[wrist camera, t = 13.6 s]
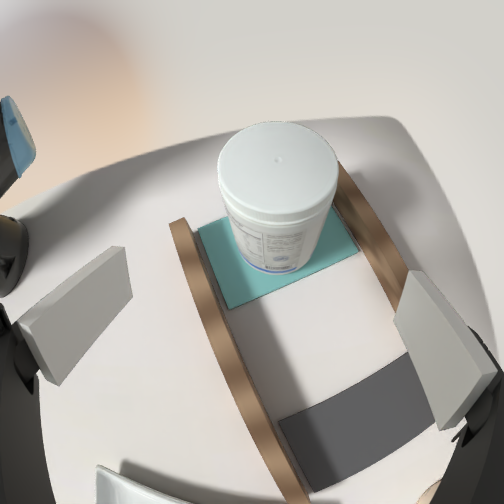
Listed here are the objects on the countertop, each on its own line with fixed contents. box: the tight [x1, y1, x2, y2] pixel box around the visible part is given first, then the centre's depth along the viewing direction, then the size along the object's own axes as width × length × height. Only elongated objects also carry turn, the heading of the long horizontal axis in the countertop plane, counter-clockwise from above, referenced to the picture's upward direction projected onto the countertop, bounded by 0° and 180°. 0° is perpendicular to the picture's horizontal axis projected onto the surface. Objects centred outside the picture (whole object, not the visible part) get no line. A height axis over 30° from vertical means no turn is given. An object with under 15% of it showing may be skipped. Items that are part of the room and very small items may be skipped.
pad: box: [198, 206, 358, 310], centre depth 33 cm, size 11×17×1 cm, turn 113°
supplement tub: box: [217, 121, 339, 275], centre depth 26 cm, size 10×10×15 cm
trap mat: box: [279, 352, 435, 493], centre depth 24 cm, size 11×17×1 cm, turn 113°
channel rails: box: [169, 161, 409, 504], centre depth 27 cm, size 36×22×4 cm, turn 23°
